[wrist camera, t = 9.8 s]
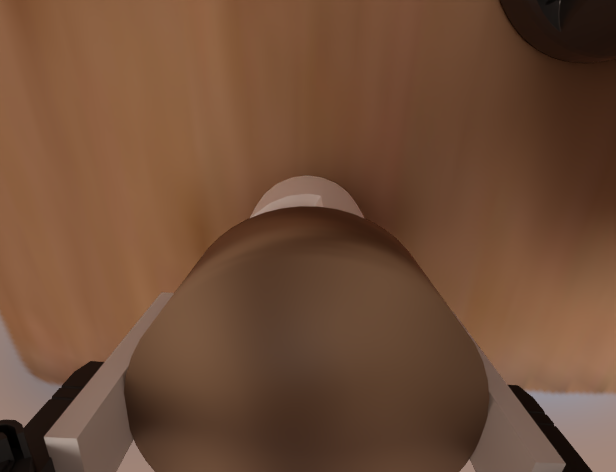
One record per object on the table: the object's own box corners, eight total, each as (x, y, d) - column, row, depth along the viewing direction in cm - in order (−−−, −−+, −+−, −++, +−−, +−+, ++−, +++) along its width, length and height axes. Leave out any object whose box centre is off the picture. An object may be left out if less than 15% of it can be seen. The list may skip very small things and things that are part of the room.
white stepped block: (284, 152, 24) (265, 187, 13) (385, 211, 26) (446, 288, 14) (232, 249, 27) (177, 349, 15) (325, 297, 28) (338, 418, 17)
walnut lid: (456, 217, 13) (541, 276, 8) (405, 420, 17) (442, 540, 12) (177, 195, 13) (98, 243, 8) (190, 407, 16) (143, 524, 12)
